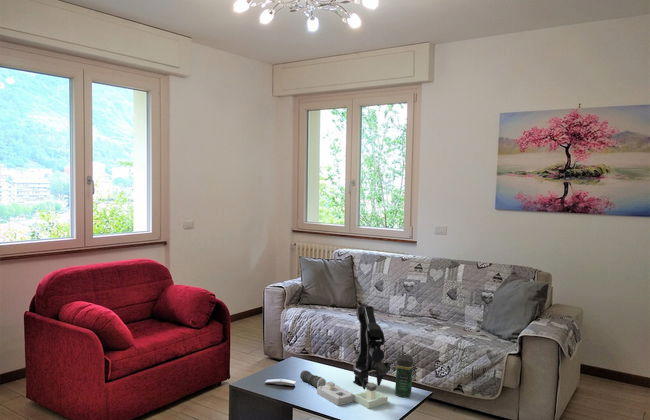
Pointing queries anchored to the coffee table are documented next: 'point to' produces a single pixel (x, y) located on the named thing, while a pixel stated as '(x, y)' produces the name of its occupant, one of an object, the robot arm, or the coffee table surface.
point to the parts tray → (378, 400)
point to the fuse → (330, 385)
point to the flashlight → (312, 379)
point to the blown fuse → (371, 391)
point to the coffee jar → (404, 376)
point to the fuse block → (336, 395)
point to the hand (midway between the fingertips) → (371, 387)
